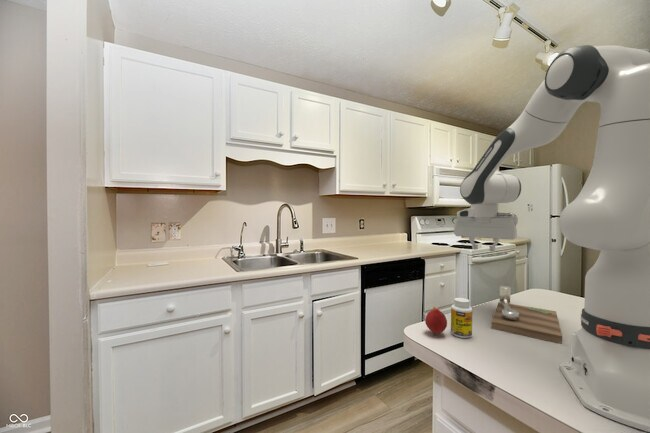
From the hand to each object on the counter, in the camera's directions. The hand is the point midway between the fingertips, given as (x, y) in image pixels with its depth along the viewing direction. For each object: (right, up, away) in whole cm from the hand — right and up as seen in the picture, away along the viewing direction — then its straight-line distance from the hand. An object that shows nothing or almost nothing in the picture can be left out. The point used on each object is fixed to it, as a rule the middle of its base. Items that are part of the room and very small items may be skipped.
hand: (483, 250), depth 105 cm
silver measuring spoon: (+2, -19, -11) cm, 22 cm away
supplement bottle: (-19, -22, -23) cm, 37 cm away
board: (+6, -22, -14) cm, 26 cm away
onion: (-26, -22, -22) cm, 41 cm away
